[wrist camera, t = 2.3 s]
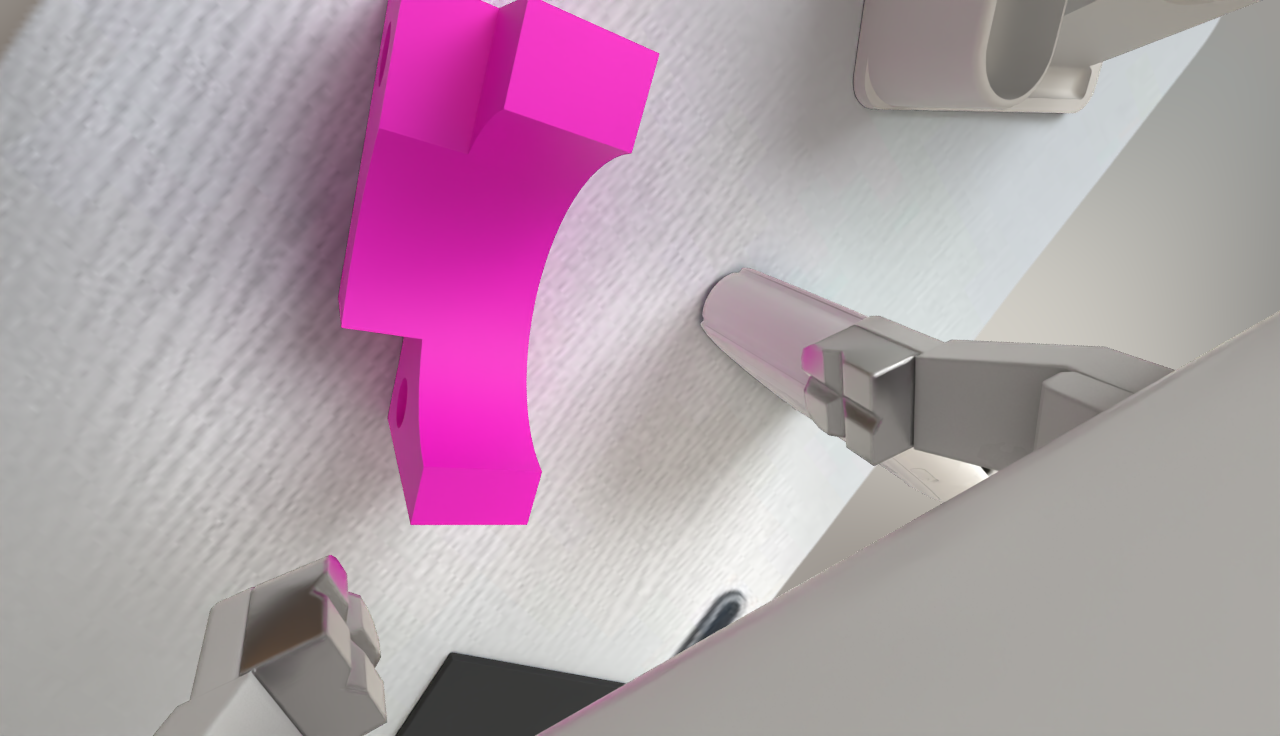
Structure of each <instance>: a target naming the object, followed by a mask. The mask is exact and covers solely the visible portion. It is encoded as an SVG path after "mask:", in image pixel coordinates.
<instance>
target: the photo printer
mask: <svg viewBox="0 0 1280 736" xmlns="http://www.w3.org/2000/svg"><path fill="white" fill-rule="evenodd" d="M702 315H703V318H704V320H703V321H702V323H701V326H702V328H703V329H704V331H705V332H706V333H707V335H708V336H709V337H710V338H711V339H712V340H713V342H714V343H715V344H716V345H717V346H718V347H719V348H720V349H722V350H723V351H724V352H725V353H726V354H727V355H728V356H729V357H730V358H732V359H733V360H734V361H735V362H736V363H737V364H739V365H740V366H741V367H742V368H743V369H745V370H746V371H747V372H748V373H749V374H751V375H752V376H753V377H754V378H756V379H757V380H758V381H759V382H761V383H762V384H763V385H764V386H765V387H767V388H768V389H769V390H770V391H772V392H773V393H774V394H776V395H777V396H778V397H780V398H781V399H782V400H784V401H785V402H786V403H788V404H789V405H791V406H792V407H793V408H794V409H795V410H797V411H799V412H801V413H802V414H804V415H805V416H807V417H809V418H810V419H811V417H810V415H809V412H808V410H807V408H806V406H805V398H804V391H803V390H804V388H805V386H806V384H807V381H808V379H809V376H808V375H807V374H806V373H805V372H804V371H803V370H802V366H801V355H802V351H803V348H804V347H807V346H809V345H811V344H813V343H815V342H817V341H820V340H822V339H824V338H826V337H828V336H831V335H833V334H835V333H837V332H839V331H842V330H844V329H846V328H848V327H849V326H851V325H853V324H855V323H857V322H859V321H861V320H863V319H865V318H867V317H868V316H865V315H863V314H861V313H858V312H856V311H854V310H851V309H849V308H846V307H844V306H842V305H839V304H837V303H835V302H832V301H830V300H827V299H825V298H823V297H820V296H818V295H815V294H813V293H811V292H808V291H806V290H803V289H801V288H799V287H796V286H794V285H791V284H789V283H786V282H784V281H782V280H779V279H777V278H774V277H772V276H769V275H767V274H764V273H762V272H759V271H757V270H754V269H751V268H745V267H744V268H742V269H741V270H740V272H738V273H736V272H735V273H731V274H729V275H727V276H726V277H724V278H723V279H721V280H720V281H719V282H718V283H717V284H716V285H715V286H714V288H713V289H712V290H711V292H710V293H709V295H708V297H707V299H706V301H705V304H704V308H703V313H702ZM839 438H840V439H842V440H843V441H845V438H843V437H839ZM879 465H881V466H882V467H884V468H885V469H887V470H888V471H890V472H891V473H893V474H894V475H895V476H897V477H898V478H900V479H902V480H903V481H904V482H905V483H906V484H907V485H908V486H910V487H912V488H914V489H916V490H917V491H919V492H921V493H922V494H924V495H926V496H928V497H930V498H933V499H935V500H938V501H941V502H946V501H948V500H949V499H951V498H953V497H955V496H956V495H958V494H960V493H962V492H963V491H965V490H967V489H969V488H970V487H972V486H974V485H976V484H977V483H979V482H981V481H983V480H984V479H986V478H988V477H990V476H991V475H993V474H995V473H997V472H998V471H996V470H992V469H988V468H984V467H980V466H977V465H973V464H969V463H965V462H961V461H957V460H953V459H949V458H945V457H942V456H938V455H934V454H930V453H926V452H922V451H918V450H914V447H912V448H910V449H908V450H906V451H904V452H902V453H900V454H898V455H896V456H894V457H892V458H890V459H888V460H886V461H884V462H882V463H880V464H879Z"/></svg>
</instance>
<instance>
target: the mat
mask: <svg viewBox="0 0 1280 736" xmlns="http://www.w3.org/2000/svg"><path fill="white" fill-rule="evenodd" d="M623 685H625V684H624V683H618V682H613V681H607V680H602V679H596V678H590V677H585V676H579V675H574V674H568V673H563V672H557V671H551V670H546V669H540V668H535V667H529V666H524V665H518V664H512V663H507V662H501V661H496V660H490V659H485V658H479V657H474V656H468V655H462V654H457V653H451V654H450V655H449V657H448V658H447V660H446V661H445V663H444V664H443V666H442V667H441V669H440V670H439V672H438V673H437V675H436V676H435V678H434V679H433V681H432V682H431V684H430V685H429V687H428V688H427V690H426V691H425V693H424V694H423V696H422V697H421V699H420V700H419V702H418V703H417V705H416V707H415V708H414V710H413V711H412V713H411V714H410V716H409V717H408V719H407V720H406V722H405V723H404V725H403V726H402V728H401V729H400V731H399V732H398V734H397V735H396V736H535V735H537V734H539V733H541V732H542V731H544V730H546V729H548V728H549V727H551V726H553V725H555V724H556V723H558V722H560V721H562V720H563V719H565V718H567V717H569V716H570V715H572V714H574V713H576V712H577V711H579V710H581V709H583V708H584V707H586V706H588V705H590V704H591V703H593V702H595V701H597V700H598V699H600V698H602V697H604V696H605V695H607V694H609V693H611V692H612V691H614V690H616V689H618V688H619V687H621V686H623Z"/></svg>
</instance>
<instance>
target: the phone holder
mask: <svg viewBox="0 0 1280 736" xmlns="http://www.w3.org/2000/svg"><path fill="white" fill-rule="evenodd" d="M1260 1H1262V0H865V3H864V10H863V17H862V24H861V30H860V37H859V44H858V51H857V58H856V65H855V72H854V91H855V94H856V97H857V99H858V101H859V102H860V103H861V104H862V105H863V106H864V107H866V108H869V109H893V110H942V111H991V112H1039V113H1076V112H1078V111H1080V110H1081V109H1083V108H1084V107H1085V106H1086V104H1087V103H1088V102H1089V100H1090V99H1091V97H1092V95H1093V93H1094V90H1095V87H1096V84H1097V80H1098V77H1099V73H1100V70H1101V66H1102V63H1103V61H1106V60H1108V59H1111V58H1113V57H1116V56H1119V55H1121V54H1124V53H1126V52H1129V51H1132V50H1134V49H1137V48H1139V47H1142V46H1145V45H1147V44H1150V43H1153V42H1155V41H1158V40H1160V39H1163V38H1166V37H1168V36H1171V35H1173V34H1176V33H1179V32H1181V31H1184V30H1186V29H1189V28H1192V27H1194V26H1197V25H1200V24H1202V23H1205V22H1207V21H1210V20H1213V19H1215V18H1218V17H1220V16H1223V15H1225V14H1228V13H1231V12H1234V11H1236V10H1238V9H1241V8H1244V7H1246V6H1249V5H1251V4H1254V3H1257V2H1260Z"/></svg>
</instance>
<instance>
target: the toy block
mask: <svg viewBox="0 0 1280 736" xmlns="http://www.w3.org/2000/svg"><path fill="white" fill-rule="evenodd" d="M658 57H659V53H657V52H655V51H653V50H650V49H648V48H646V47H644V46H641V45H639V44H637V43H635V42H633V41H630V40H628V39H626V38H624V37H621V36H619V35H617V34H615V33H613V32H610V31H608V30H606V29H604V28H601V27H599V26H597V25H595V24H593V23H590V22H588V21H586V20H584V19H581V18H579V17H577V16H575V15H573V14H570V13H568V12H566V11H564V10H561V9H559V8H557V7H555V6H553V5H550V4H548V3H546V2H544V1H541V0H517V1H515V2H512V3H510V4H508V5H505V6H503V7H501V8H497V7H495V6H493V5H490V4H488V3H486V2H483V1H481V0H388V4H387V10H386V16H385V22H384V28H383V34H382V40H381V46H380V52H379V58H378V64H377V70H376V76H375V82H374V88H373V93H372V99H371V105H370V111H369V117H368V123H367V129H366V135H365V141H364V147H363V153H362V159H361V165H360V171H359V176H358V182H357V188H356V194H355V200H354V206H353V212H352V218H351V224H350V230H349V236H348V242H347V248H346V254H345V259H344V265H343V271H342V277H341V283H340V289H339V295H338V300H339V310H340V319H341V328H347V329H354V330H361V331H368V332H375V333H382V334H389V335H396V336H403V337H404V339H403V344H402V349H401V354H400V359H399V364H398V369H397V374H396V379H395V384H394V389H393V394H392V399H391V403H390V408H389V413H388V422H389V427H390V431H391V436H392V440H393V445H394V450H395V454H396V459H397V464H398V468H399V473H400V478H401V482H402V487H403V491H404V496H405V501H406V505H407V510H408V515H409V519H410V524H411V525H527V523H528V520H529V516H530V513H531V509H532V505H533V502H534V498H535V495H536V491H537V488H538V484H539V481H540V477H541V473H542V471H541V468H540V466H539V463H538V461H537V457H536V454H535V451H534V447H533V442H532V438H531V432H530V426H529V419H528V410H527V388H526V376H527V355H528V344H529V335H530V328H531V321H532V315H533V310H534V304H535V300H536V295H537V291H538V287H539V283H540V279H541V276H542V272H543V269H544V266H545V262H546V259H547V256H548V254H549V251H550V248H551V245H552V243H553V240H554V238H555V235H556V233H557V231H558V229H559V226H560V224H561V222H562V220H563V218H564V216H565V214H566V212H567V210H568V209H569V207H570V205H571V203H572V202H573V200H574V198H575V197H576V196H577V194H578V193H579V191H580V190H581V188H582V187H583V186H584V184H585V183H586V182H587V181H588V179H589V178H590V177H591V176H592V175H593V174H594V173H595V172H596V171H597V170H598V169H599V168H601V167H602V166H603V165H604V164H606V163H607V162H609V161H610V160H612V159H614V158H616V157H618V156H621V155H624V154H630V153H632V150H633V146H634V143H635V139H636V136H637V132H638V128H639V125H640V121H641V118H642V114H643V111H644V107H645V103H646V100H647V96H648V93H649V89H650V86H651V82H652V79H653V75H654V71H655V68H656V64H657V61H658Z"/></svg>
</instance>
